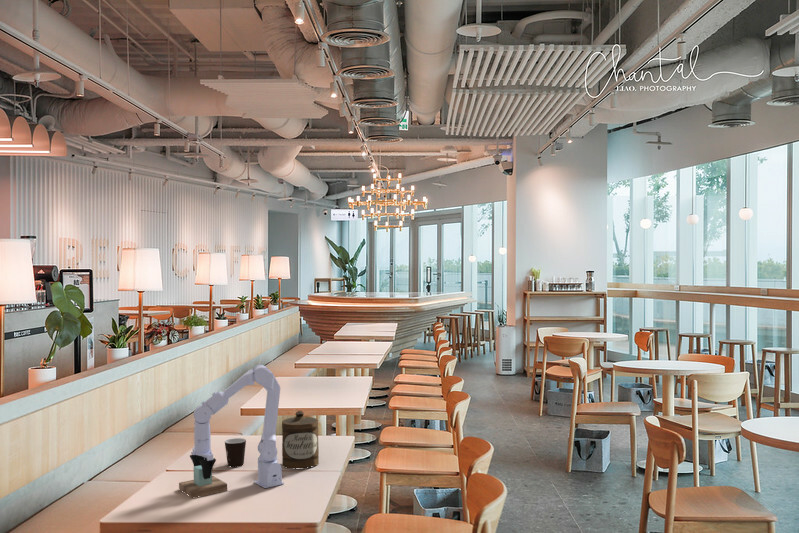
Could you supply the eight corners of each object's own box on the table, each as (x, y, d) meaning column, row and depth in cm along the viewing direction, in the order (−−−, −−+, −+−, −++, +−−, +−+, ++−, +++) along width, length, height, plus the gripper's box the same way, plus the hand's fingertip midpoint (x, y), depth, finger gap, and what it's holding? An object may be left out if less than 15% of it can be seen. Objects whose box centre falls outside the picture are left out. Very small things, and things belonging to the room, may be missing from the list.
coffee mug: (243, 467, 275) (243, 443, 275) (222, 468, 275) (222, 443, 275) (250, 460, 286) (250, 436, 286) (230, 460, 286) (229, 436, 286)
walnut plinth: (227, 490, 246) (227, 483, 246) (192, 498, 238) (192, 491, 238) (213, 482, 256) (213, 475, 256) (179, 489, 248) (179, 482, 248)
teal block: (212, 483, 246) (211, 467, 246) (198, 486, 243) (198, 469, 243) (206, 480, 250) (206, 464, 250) (193, 483, 247) (193, 466, 247)
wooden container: (284, 471, 269) (283, 415, 270) (280, 461, 284) (280, 408, 284) (321, 467, 273) (320, 413, 274) (315, 458, 288) (315, 406, 288)
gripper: (184, 437, 250) (184, 473, 250) (199, 444, 239) (199, 483, 239) (202, 434, 255) (203, 470, 254) (218, 441, 243) (218, 479, 243)
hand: (202, 476), depth 247 cm, fingers open, 7 cm apart
